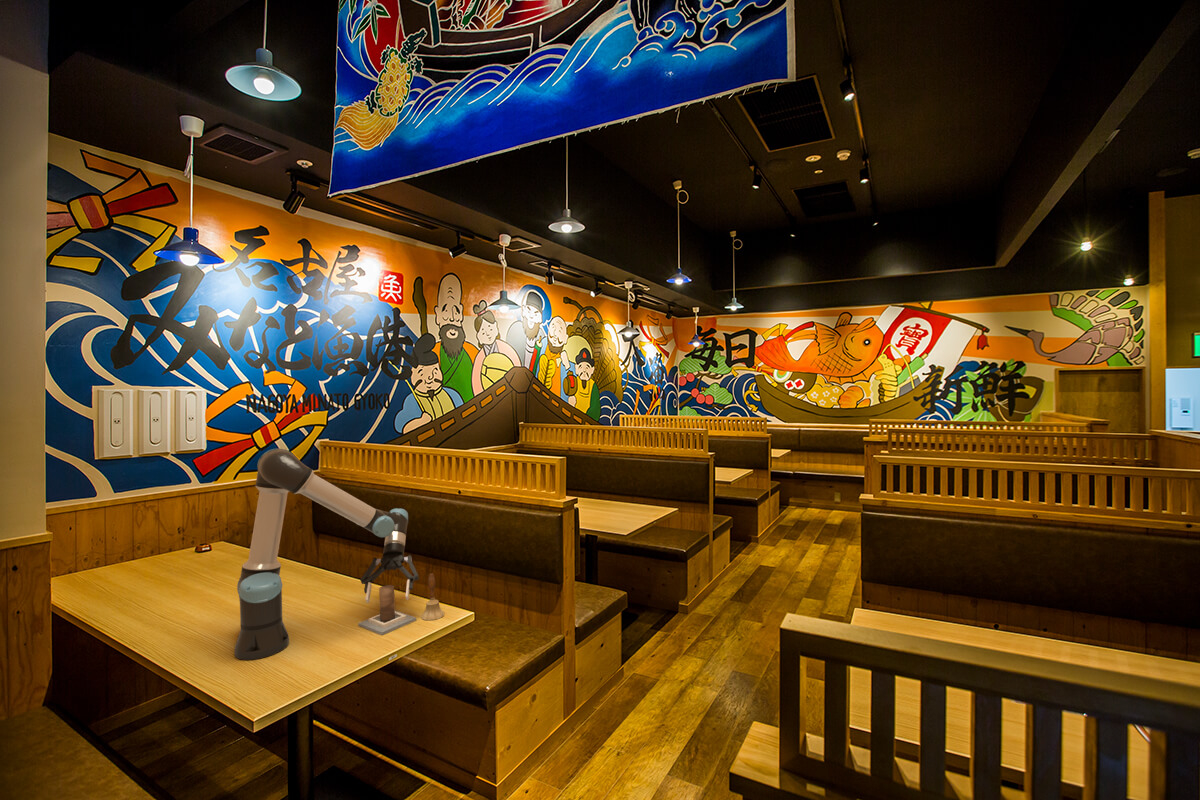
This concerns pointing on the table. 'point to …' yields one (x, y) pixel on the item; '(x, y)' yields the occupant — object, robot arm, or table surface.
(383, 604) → the walnut pin
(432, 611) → the hand bell
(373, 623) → the board
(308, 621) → the table surface
